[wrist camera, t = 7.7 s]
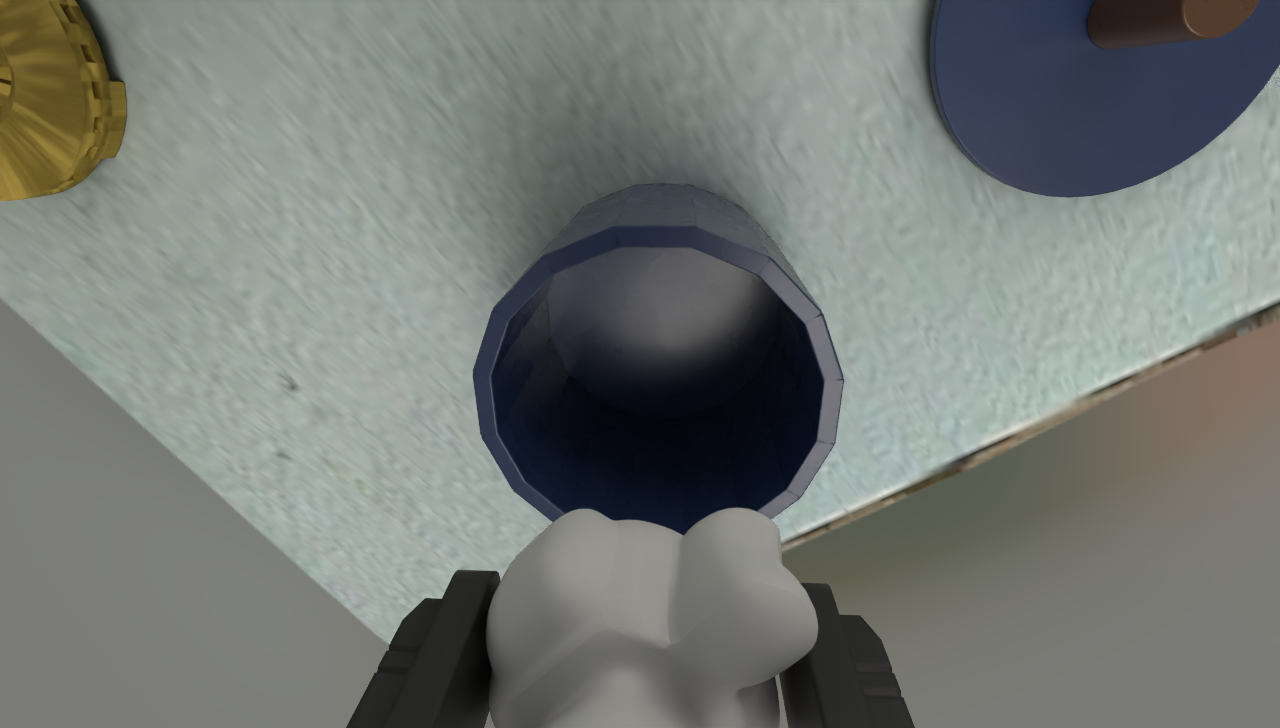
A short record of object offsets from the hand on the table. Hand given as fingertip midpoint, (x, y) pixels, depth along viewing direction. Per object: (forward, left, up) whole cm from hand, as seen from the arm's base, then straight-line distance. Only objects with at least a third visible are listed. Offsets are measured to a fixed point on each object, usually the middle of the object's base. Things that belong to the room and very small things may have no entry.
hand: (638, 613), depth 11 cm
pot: (+1, 0, -21) cm, 21 cm away
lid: (-12, +18, -21) cm, 30 cm away
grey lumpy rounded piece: (0, 0, -2) cm, 2 cm away
